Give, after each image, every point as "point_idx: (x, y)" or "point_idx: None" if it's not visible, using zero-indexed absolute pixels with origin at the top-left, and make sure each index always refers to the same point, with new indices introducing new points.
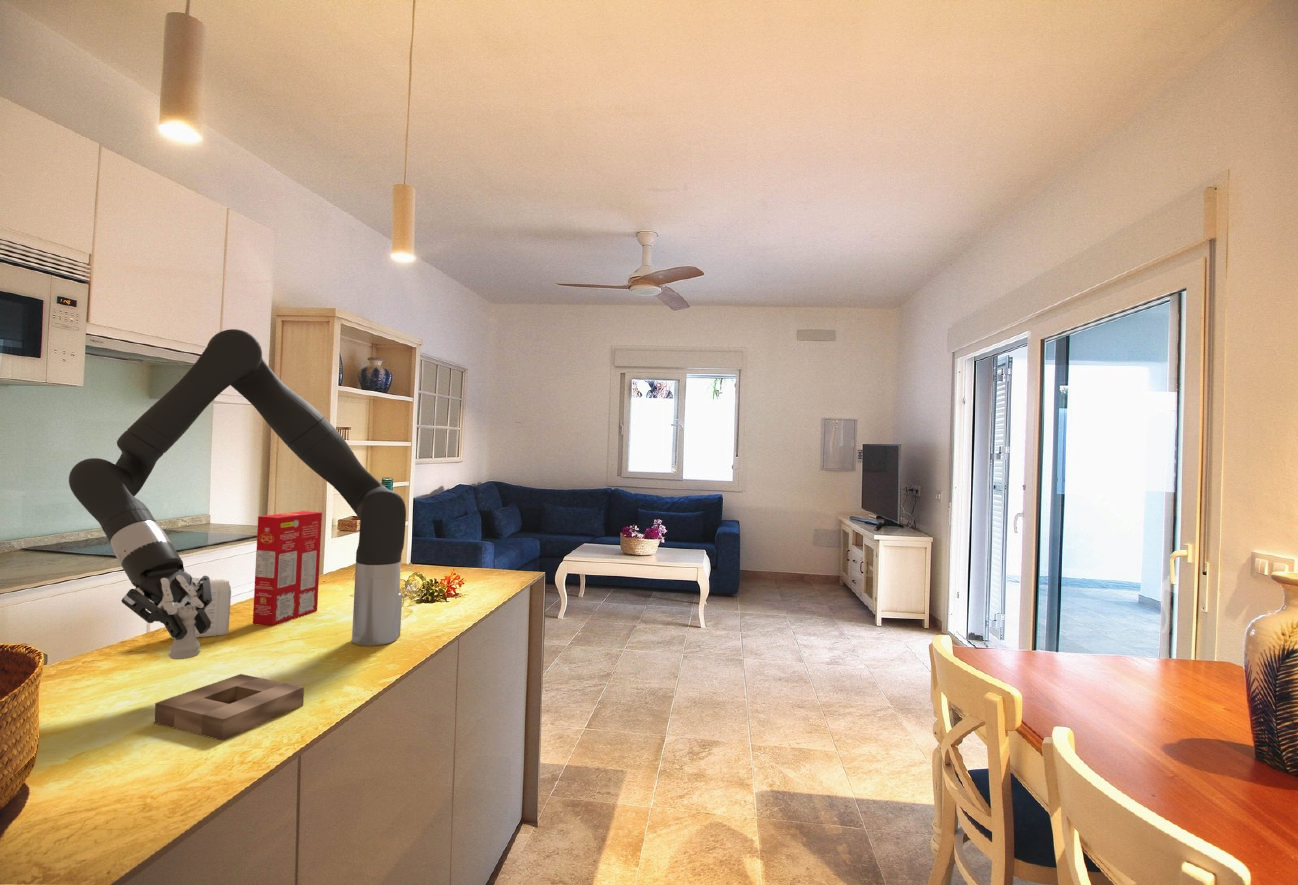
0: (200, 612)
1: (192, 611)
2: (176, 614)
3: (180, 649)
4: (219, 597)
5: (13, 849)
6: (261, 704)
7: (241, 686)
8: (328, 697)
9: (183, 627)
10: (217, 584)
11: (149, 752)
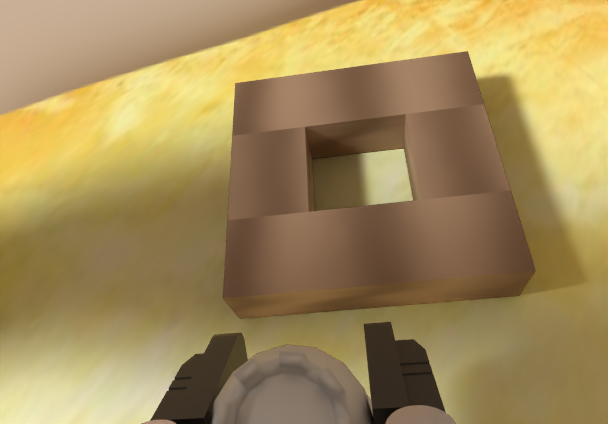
0: (200, 395)
1: (277, 359)
2: (381, 409)
3: (371, 402)
4: None
5: None
6: (362, 66)
7: (304, 196)
8: (187, 114)
9: (376, 337)
10: None
11: (595, 142)
